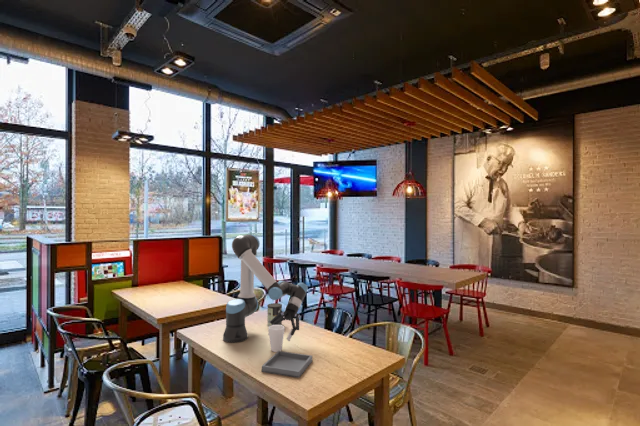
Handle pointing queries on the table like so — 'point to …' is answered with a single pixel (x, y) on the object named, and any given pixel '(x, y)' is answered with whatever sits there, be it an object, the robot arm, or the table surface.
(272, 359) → the tray
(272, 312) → the coffee can
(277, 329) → the foam cup
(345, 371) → the table surface
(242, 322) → the robot arm
